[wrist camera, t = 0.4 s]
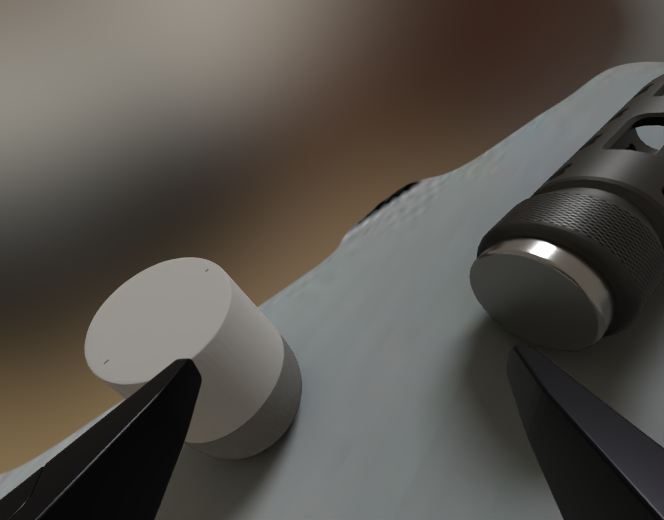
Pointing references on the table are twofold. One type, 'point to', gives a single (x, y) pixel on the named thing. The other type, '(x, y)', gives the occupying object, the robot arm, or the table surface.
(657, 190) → the muzzle brake
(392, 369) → the table surface
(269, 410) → the smart speaker
